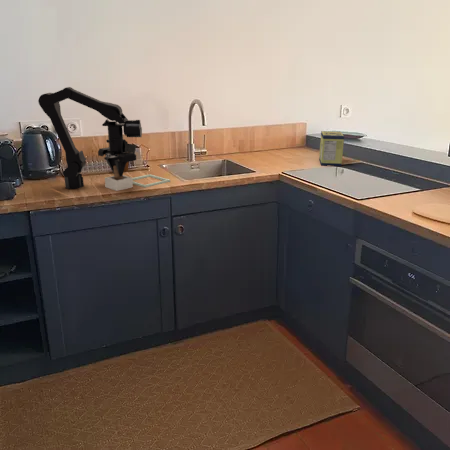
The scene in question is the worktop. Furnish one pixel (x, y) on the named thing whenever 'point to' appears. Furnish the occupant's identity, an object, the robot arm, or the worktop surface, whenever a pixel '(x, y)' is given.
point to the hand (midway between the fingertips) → (118, 175)
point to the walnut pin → (116, 174)
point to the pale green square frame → (151, 183)
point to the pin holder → (118, 183)
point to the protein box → (331, 148)
